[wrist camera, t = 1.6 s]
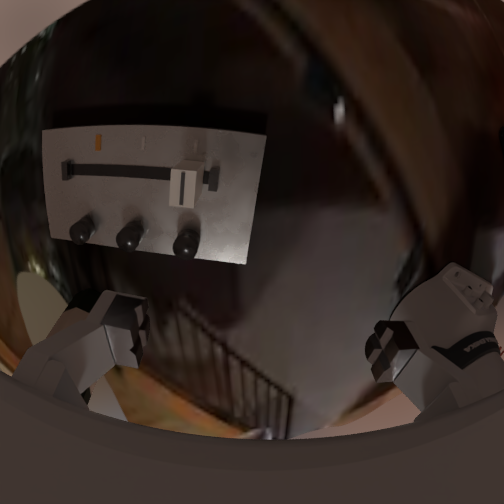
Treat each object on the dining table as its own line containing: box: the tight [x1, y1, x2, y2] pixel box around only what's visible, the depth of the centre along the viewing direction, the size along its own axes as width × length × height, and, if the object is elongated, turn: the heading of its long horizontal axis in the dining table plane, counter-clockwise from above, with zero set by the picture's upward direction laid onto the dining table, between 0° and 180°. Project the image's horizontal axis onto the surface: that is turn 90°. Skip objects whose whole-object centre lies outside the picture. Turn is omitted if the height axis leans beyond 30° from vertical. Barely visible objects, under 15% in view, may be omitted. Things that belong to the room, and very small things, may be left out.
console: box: [42, 124, 266, 264], centre depth 24 cm, size 24×13×4 cm, turn 82°
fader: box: [169, 160, 205, 209], centre depth 22 cm, size 2×3×4 cm, turn 172°
